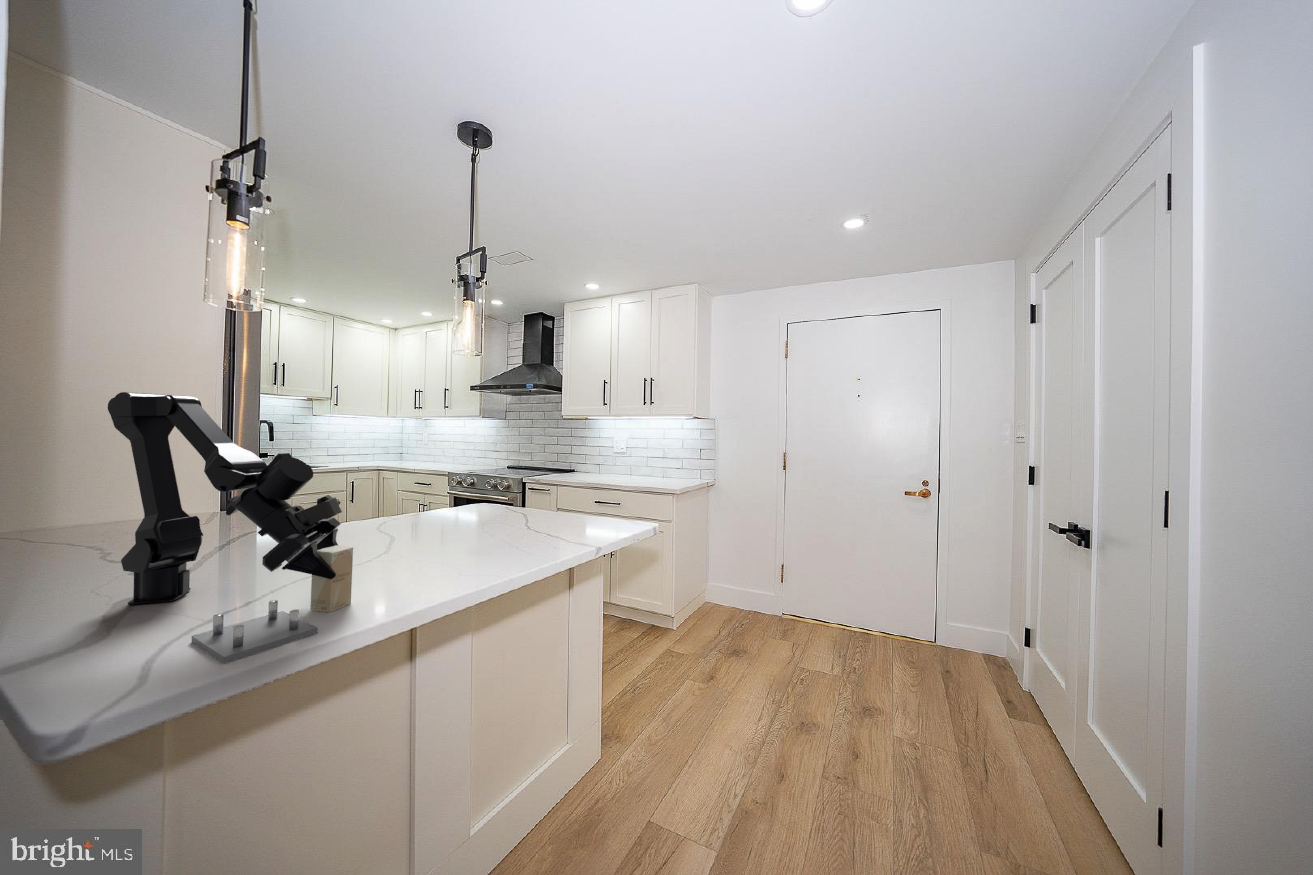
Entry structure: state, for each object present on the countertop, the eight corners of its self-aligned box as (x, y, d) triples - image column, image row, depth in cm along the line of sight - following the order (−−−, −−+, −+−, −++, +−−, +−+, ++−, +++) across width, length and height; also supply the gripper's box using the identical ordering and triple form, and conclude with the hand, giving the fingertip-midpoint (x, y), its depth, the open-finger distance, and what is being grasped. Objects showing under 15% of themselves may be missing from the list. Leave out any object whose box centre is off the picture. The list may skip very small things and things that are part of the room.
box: (328, 613, 86) (330, 553, 86) (309, 610, 87) (310, 551, 86) (352, 602, 91) (354, 546, 91) (334, 600, 92) (335, 544, 92)
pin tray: (224, 663, 67) (224, 636, 67) (191, 641, 73) (192, 616, 73) (317, 633, 78) (318, 609, 78) (282, 616, 84) (283, 594, 84)
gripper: (286, 491, 78) (359, 554, 82) (330, 477, 96) (388, 530, 99) (227, 539, 76) (305, 602, 80) (284, 516, 94) (345, 568, 97)
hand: (340, 571), depth 89 cm, fingers closed on box, 6 cm apart
